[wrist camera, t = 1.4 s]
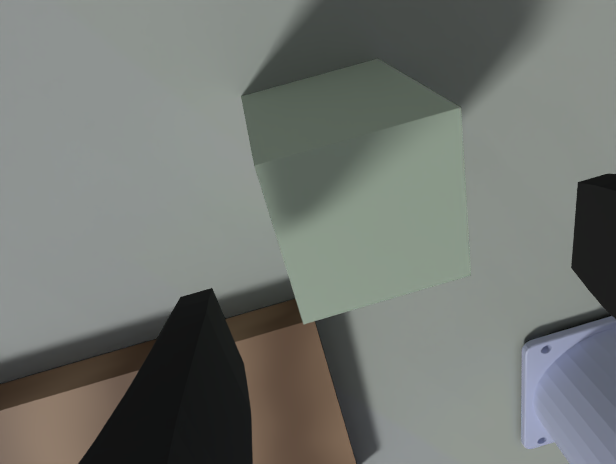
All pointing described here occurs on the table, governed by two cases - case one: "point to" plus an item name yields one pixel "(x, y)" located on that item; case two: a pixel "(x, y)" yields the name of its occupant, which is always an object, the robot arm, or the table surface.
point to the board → (126, 363)
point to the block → (361, 185)
